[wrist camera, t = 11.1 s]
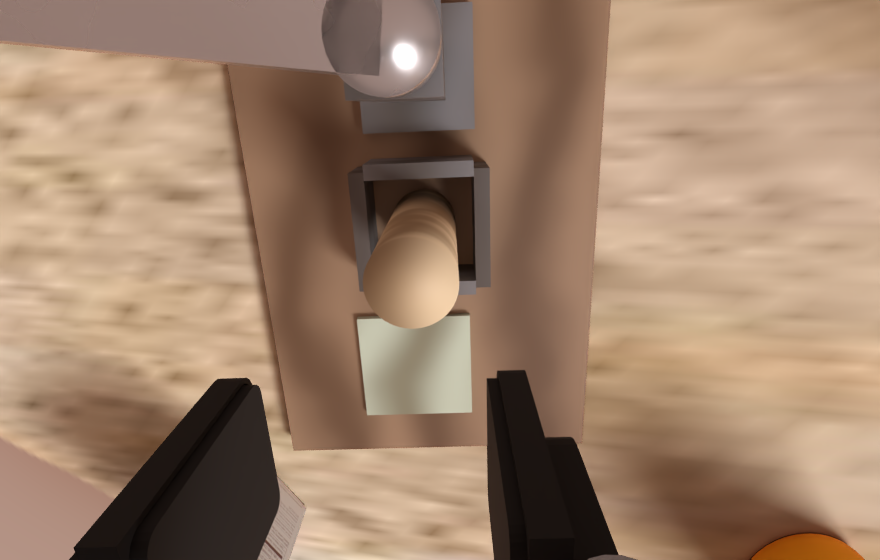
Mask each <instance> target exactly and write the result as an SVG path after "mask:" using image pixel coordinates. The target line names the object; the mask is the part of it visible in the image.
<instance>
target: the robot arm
mask: <svg viewBox="0 0 880 560" xmlns="http://www.w3.org/2000/svg"><path fill="white" fill-rule="evenodd" d="M487 464H488V501H489V513H490V522H491V532H492V542H493V552H494V560H636V559H633V558H629V557H626V556H623V555H618V552H617V550H616V547H615V544H614V542H613V539H612V536H611V534H610V531H609V529H608V526H607V523H606V521H605V518H604V515H603V513H602V510H601V507H600V505H599V502H598V500H597V497H596V494H595V492H594V489H593V486H592V484H591V481H590V478H589V476H588V473H587V471H586V468H585V465H584V463H583V460H582V457H581V455H580V452H579V449H578V447H577V444H576V442H575V440H574V439H573V438H572V437H545V435H544V432H543V429H542V425H541V422H540V418H539V415H538V411H537V408H536V405H535V401H534V398H533V394H532V391H531V388H530V384H529V381H528V377H527V374H526V371H525V370H501V371H497V378H487ZM279 504H280V490H279V484H278V479H277V474H276V469H275V463H274V458H273V453H272V447H271V442H270V437H269V432H268V426H267V421H266V416H265V411H264V405H263V400H262V395H261V391H260V388H259V386H257V385H252V383H251V381H250V380H249V379H248V378H230V379H217V380H216V381H215V382H214V383H213V384H212V385H211V386H210V388H209V389H208V390H207V391H206V392H205V393H204V395H203V396H202V397H201V398H200V399H199V401H198V402H197V403H196V404H195V405H194V406H193V408H192V409H191V410H190V411H189V412H188V413H187V415H186V416H185V417H184V418H183V419H182V421H181V422H180V423H179V424H178V425H177V426H176V428H175V429H174V430H173V431H172V432H171V434H170V435H169V436H168V437H167V438H166V439H165V441H164V442H163V443H162V444H161V445H160V446H159V448H158V449H157V450H156V451H155V452H154V454H153V455H152V456H151V457H150V458H149V459H148V461H147V462H146V463H145V464H144V465H143V467H142V468H141V469H140V470H139V471H138V472H137V474H136V475H135V476H134V477H133V478H132V479H131V481H130V482H129V483H128V484H127V485H126V487H125V488H124V489H123V490H122V491H121V492H120V494H119V495H118V496H117V497H116V498H115V500H114V501H113V502H112V503H111V504H110V505H109V507H108V508H107V509H106V510H105V511H104V513H103V514H102V515H101V516H100V517H99V518H98V520H97V521H96V522H95V523H94V524H93V526H92V527H91V528H90V529H89V530H88V531H87V533H86V534H85V535H84V536H83V537H82V538H81V540H80V541H79V542H78V543H77V544H76V546H75V547H74V550H75V553H74V555H73V556H72V557H71V558H70V559H69V560H257V559H258V557H259V555H260V552H261V550H262V548H263V545H264V543H265V540H266V538H267V536H268V533H269V531H270V529H271V526H272V524H273V521H274V519H275V517H276V514H277V512H278V509H279Z"/></svg>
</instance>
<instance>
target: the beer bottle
mask: <svg viewBox="0 0 880 560" xmlns="http://www.w3.org/2000/svg"><path fill="white" fill-rule="evenodd" d="M751 560H865V559H864V558H863V557H862V556H861V555H859V554H858V553H857V552H856V551H855V550H854V549H852V548H851V547H850V546H848V545H847V544H845V543H844V542H842V541H840V540H838V539H836V538H833V537H830V536H826V535H822V534H812V533H805V534H796V535H792V536H787V537H784V538H781V539H779V540H776V541H774V542H772V543H770V544H768V545H767V546H765V547H764V548H763V549H761V550H760V551H759V552H757V553H756V554H755V555H754V556H753V557H752V559H751Z"/></svg>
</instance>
